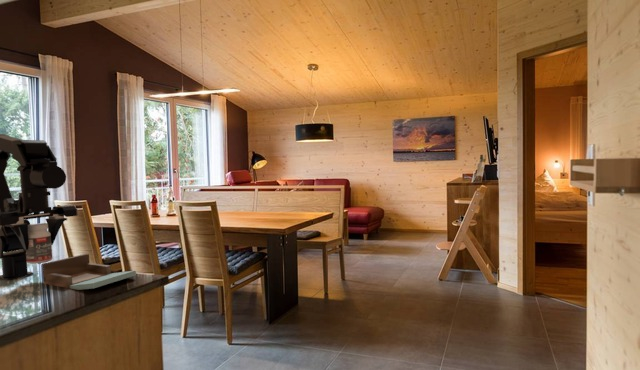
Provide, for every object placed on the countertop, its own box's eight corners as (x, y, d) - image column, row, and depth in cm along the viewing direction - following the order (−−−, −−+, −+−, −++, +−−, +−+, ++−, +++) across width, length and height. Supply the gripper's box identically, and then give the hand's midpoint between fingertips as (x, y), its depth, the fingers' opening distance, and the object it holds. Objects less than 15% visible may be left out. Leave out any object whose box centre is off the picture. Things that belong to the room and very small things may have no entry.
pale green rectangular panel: (69, 285, 105) (92, 283, 101) (113, 273, 115) (135, 270, 111) (70, 290, 105) (93, 288, 101) (113, 277, 115) (136, 275, 111)
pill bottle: (39, 264, 110) (37, 226, 109) (21, 264, 111) (18, 226, 110) (57, 259, 115) (55, 222, 115) (39, 258, 116) (37, 222, 116)
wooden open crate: (43, 286, 110) (42, 263, 109) (87, 274, 120) (86, 253, 120) (68, 291, 105) (66, 267, 105) (111, 278, 116) (110, 256, 115)
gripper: (55, 185, 124) (59, 238, 125) (-23, 190, 108) (-17, 251, 109) (76, 185, 118) (80, 241, 119) (-2, 191, 102) (3, 255, 103)
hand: (38, 247), depth 113 cm, fingers closed on pill bottle, 6 cm apart
